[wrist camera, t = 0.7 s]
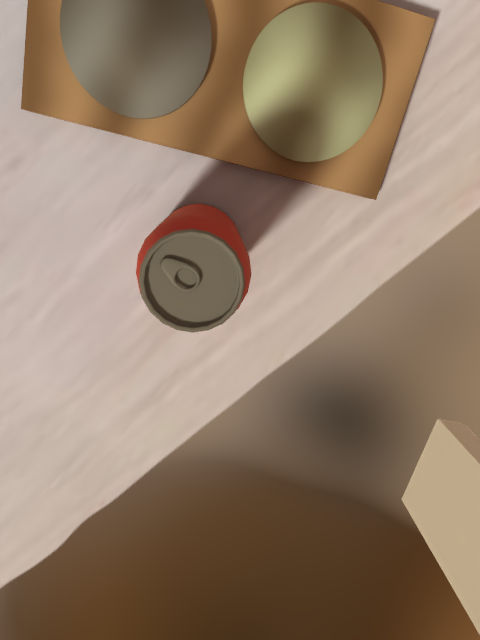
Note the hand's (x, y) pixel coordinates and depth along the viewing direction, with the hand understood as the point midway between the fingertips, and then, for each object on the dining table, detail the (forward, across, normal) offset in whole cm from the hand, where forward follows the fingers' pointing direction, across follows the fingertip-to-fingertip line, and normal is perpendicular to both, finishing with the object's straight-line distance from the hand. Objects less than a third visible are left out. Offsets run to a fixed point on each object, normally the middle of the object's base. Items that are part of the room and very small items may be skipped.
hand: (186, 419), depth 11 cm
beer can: (+24, -1, 0) cm, 24 cm away
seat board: (+24, -1, +13) cm, 27 cm away
